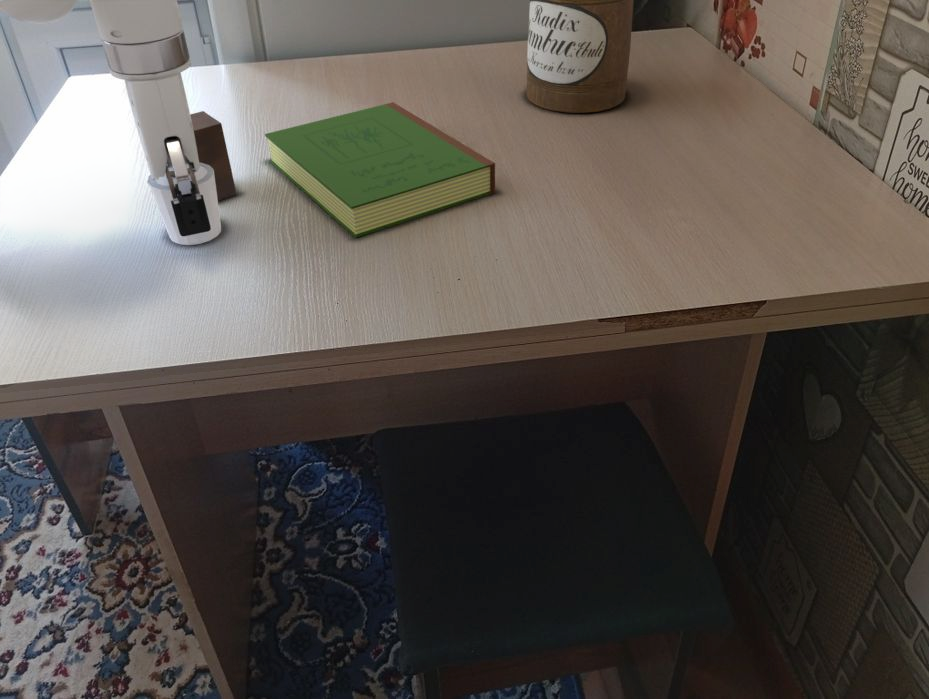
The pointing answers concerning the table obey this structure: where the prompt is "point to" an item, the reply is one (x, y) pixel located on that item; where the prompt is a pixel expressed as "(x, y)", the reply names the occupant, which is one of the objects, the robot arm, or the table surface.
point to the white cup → (164, 195)
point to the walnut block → (214, 152)
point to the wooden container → (578, 54)
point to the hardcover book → (379, 167)
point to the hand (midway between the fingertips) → (189, 214)
